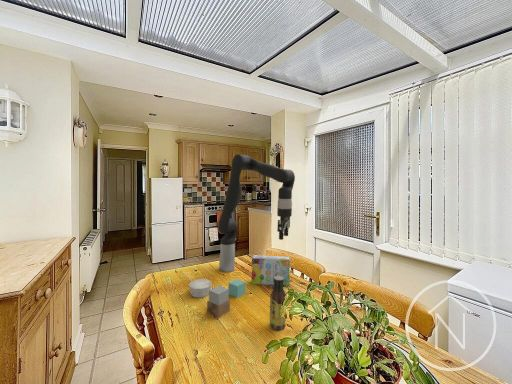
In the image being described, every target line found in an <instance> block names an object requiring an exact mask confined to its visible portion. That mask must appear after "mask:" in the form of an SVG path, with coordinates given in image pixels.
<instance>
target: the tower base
mask: <svg viewBox="0 0 512 384" xmlns="http://www.w3.org/2000/svg"><path fill="white" fill-rule="evenodd" d="M228 312H231V299H229V300H228V301H226V302H225V303H223V304H221V305H220V306H218V305H216V304H213V303H211V302H209V300H207V301H206V313H208V314H210V315H212V316H214V317H215V318H217V319H219V318H221V317H222V316H223V315H225V314H227V313H228Z"/></svg>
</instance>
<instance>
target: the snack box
mask: <svg viewBox="0 0 512 384" xmlns="http://www.w3.org/2000/svg"><path fill="white" fill-rule="evenodd" d="M290 269H291V258H290V256H277V255H275V256H273V255H254V254H253V255H252V257H251V284H252V285H265V286H266V285H268V286H274V281H273V279H274V277H275V276H282V277H283V278H284V282H283V285H284V286H283V287H290V275H291V274H290V272H291V271H290Z"/></svg>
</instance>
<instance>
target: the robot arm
mask: <svg viewBox="0 0 512 384" xmlns="http://www.w3.org/2000/svg"><path fill="white" fill-rule="evenodd" d="M242 171H254V172H256V173H257V174H258V173H259V174H260V175H261V176H263V177H267V178H269V179H272V180H273V181H276V182H278V183H282V185H281V187H279V189H278V191H277V192H278V195H277V197H278V198H277V206H276V207H277V211H276V213H277V215H276V216H277V217H280V219H277V229H276V230H277V232H278V240H281V241H283V240H284V237H288V236H289V229H290V227H291V217H292V213H293V210H292V209H293V201H292V200H293V199H292V197H293V189H294V185H295V181H296V179H295V178H296V176H295V175H296V174H295V173H294V171H293V170H292V169H287V168H280V167H278V166H276V165H274V164H270V163H265V162H262V161H258V160H257V159H254V158H253V157H251V156H249V155H247V154H243V153H242V154H241V153H238V154H235V155H234V156H233V158H232V161H231V169H230V175H229V181H228V185H227V191H226V194H225V200H224V203H223V207H222V210H221V214H220V217H219V220H218V224H217V229H218V232H219V233H220V234H221V235H224V236H223V237H221V239H220V254H219V262H218V266H219V267H218V269H219V270H220V271H221V272H225V273H228V272H230V273H231V272H234V271H235V269H236V268H235V265H236V263H235V260H236V259H235V258H236V257H235V256H236V254H235V253H236V252H235V251H236V248H235V247H236V245H235V244H236V240H237V232H238V231H237V230H238V229H237V227H238V226H237V225H238V223H237V222H236V220H235V219H234V217H233V218H232V214H233V212H234V211H235V210H236V208H237V207H238V205H239V204H240V202H241V199H242V194H243V189H242V184H241V179H240V178H241V173H242Z"/></svg>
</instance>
